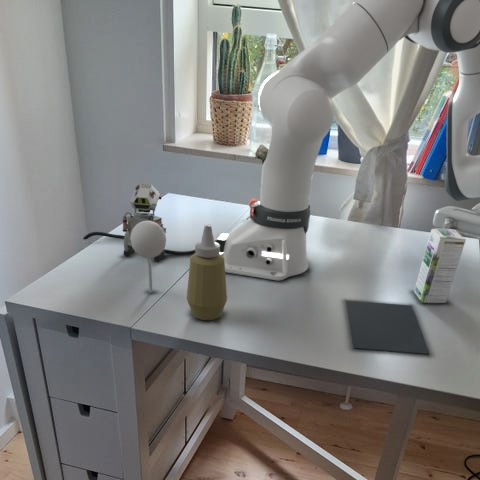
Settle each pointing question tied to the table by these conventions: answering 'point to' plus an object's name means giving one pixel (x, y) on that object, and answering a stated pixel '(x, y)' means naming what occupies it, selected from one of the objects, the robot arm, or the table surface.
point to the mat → (385, 327)
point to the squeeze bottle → (207, 279)
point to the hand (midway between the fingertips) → (465, 234)
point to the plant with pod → (261, 156)
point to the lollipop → (148, 242)
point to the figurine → (141, 214)
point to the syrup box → (439, 265)
